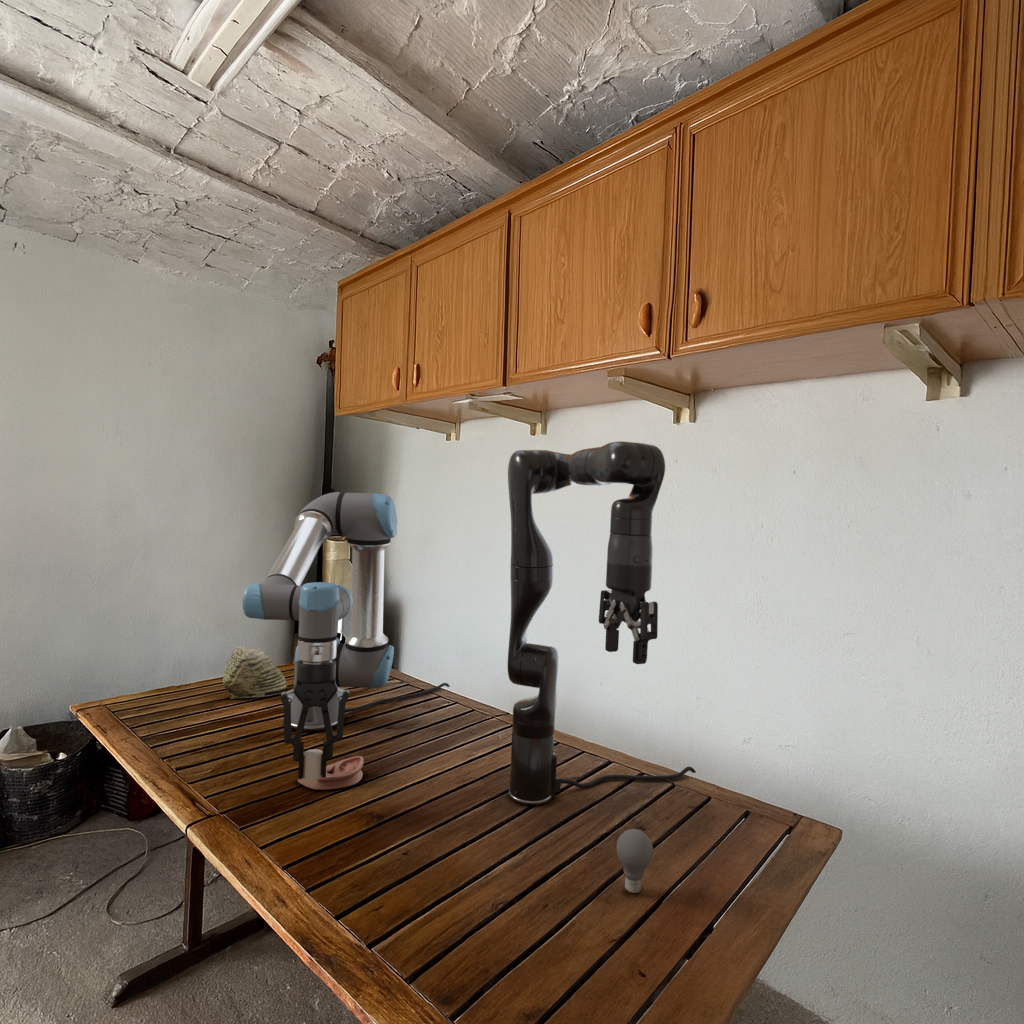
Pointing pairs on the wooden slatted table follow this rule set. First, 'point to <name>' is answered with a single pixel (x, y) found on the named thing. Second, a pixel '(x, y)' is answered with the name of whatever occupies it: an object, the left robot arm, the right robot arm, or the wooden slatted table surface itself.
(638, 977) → the wooden slatted table surface
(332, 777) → the anatomical model
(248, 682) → the fossil
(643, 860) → the light bulb
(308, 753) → the canister
